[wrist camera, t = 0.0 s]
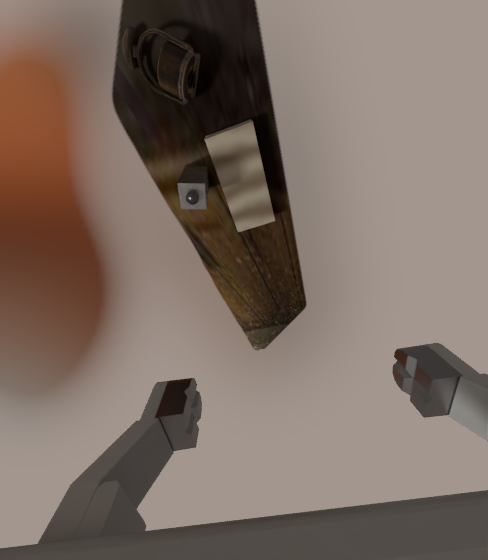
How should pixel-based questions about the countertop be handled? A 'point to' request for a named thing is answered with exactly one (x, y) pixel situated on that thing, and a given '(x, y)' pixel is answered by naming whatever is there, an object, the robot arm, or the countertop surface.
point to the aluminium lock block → (193, 187)
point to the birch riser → (241, 174)
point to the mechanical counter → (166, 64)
